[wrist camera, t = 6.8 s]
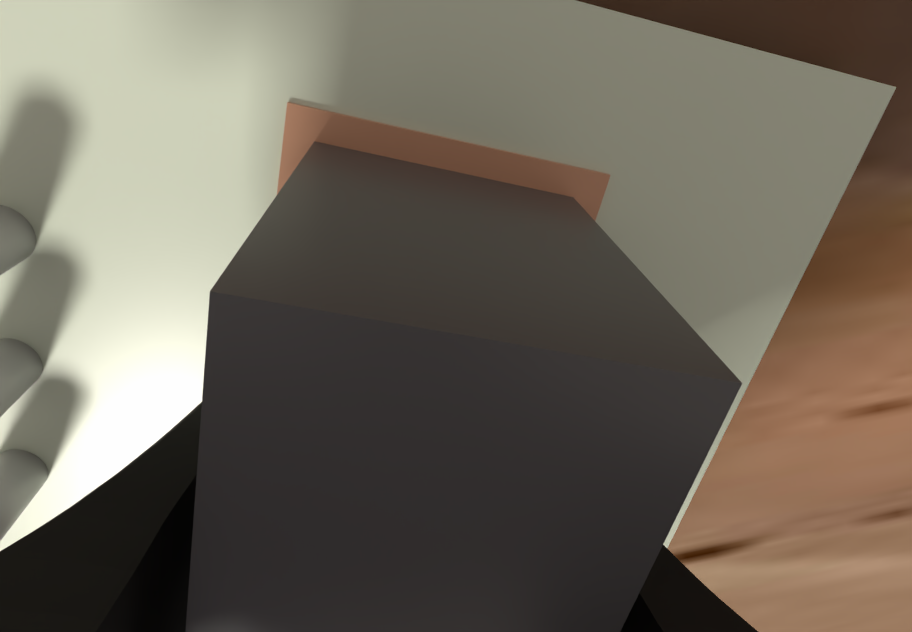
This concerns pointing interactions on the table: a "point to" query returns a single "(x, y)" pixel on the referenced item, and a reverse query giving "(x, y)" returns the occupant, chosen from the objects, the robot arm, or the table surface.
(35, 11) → the board
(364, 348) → the block
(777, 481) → the table surface
